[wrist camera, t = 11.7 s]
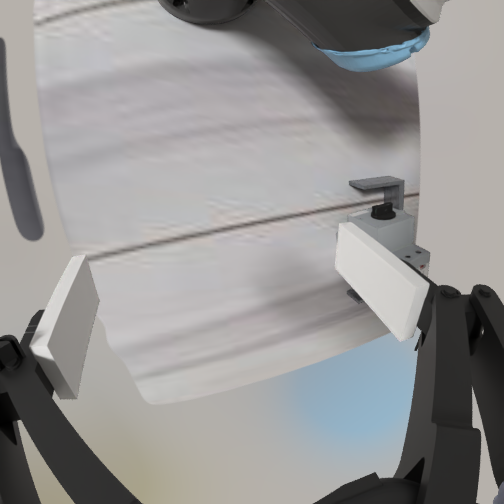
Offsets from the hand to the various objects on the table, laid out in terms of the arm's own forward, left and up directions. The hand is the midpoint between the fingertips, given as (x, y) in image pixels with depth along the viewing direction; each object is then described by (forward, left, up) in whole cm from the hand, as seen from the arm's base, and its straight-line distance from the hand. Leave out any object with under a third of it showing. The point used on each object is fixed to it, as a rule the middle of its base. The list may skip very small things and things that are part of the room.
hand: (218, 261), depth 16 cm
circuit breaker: (+14, +29, -29) cm, 43 cm away
